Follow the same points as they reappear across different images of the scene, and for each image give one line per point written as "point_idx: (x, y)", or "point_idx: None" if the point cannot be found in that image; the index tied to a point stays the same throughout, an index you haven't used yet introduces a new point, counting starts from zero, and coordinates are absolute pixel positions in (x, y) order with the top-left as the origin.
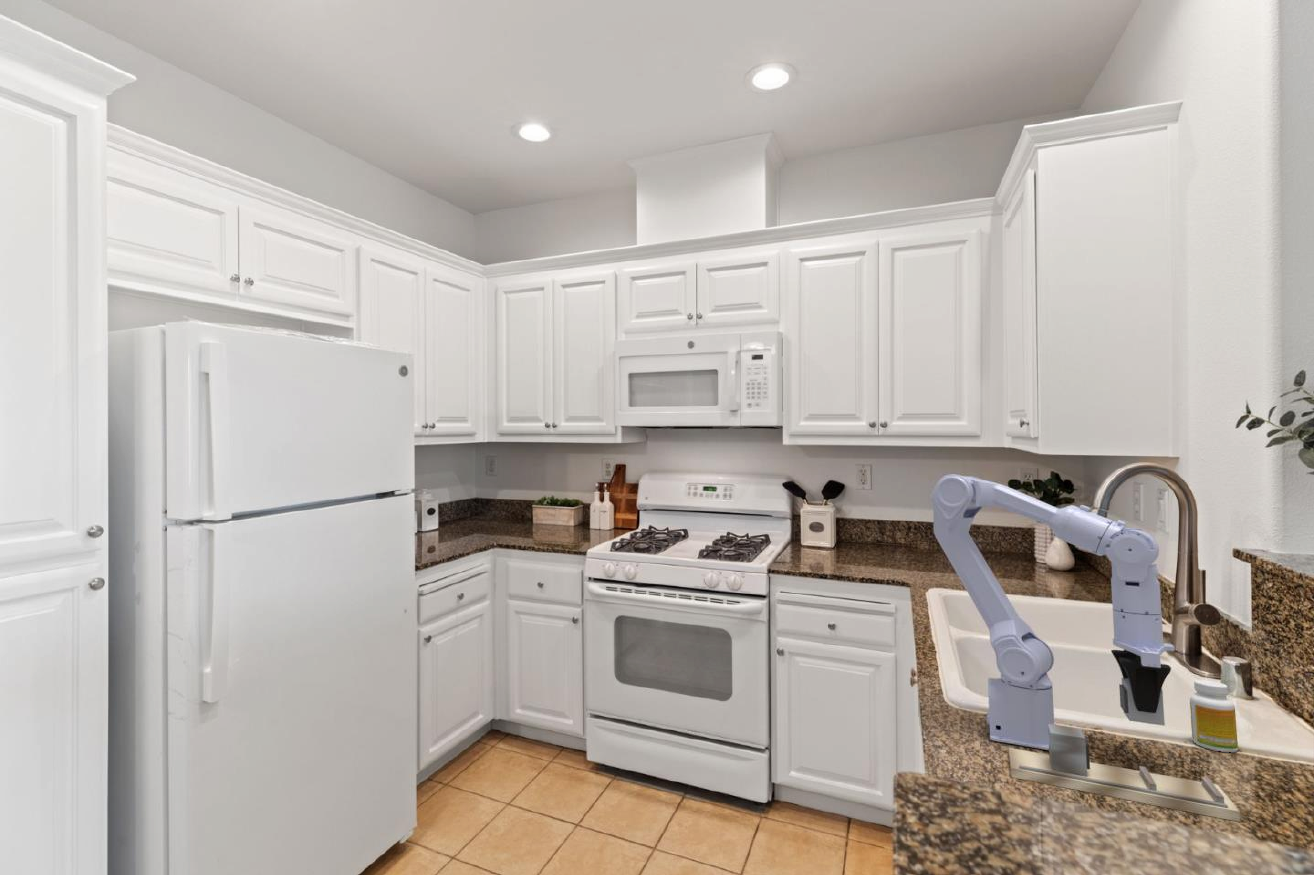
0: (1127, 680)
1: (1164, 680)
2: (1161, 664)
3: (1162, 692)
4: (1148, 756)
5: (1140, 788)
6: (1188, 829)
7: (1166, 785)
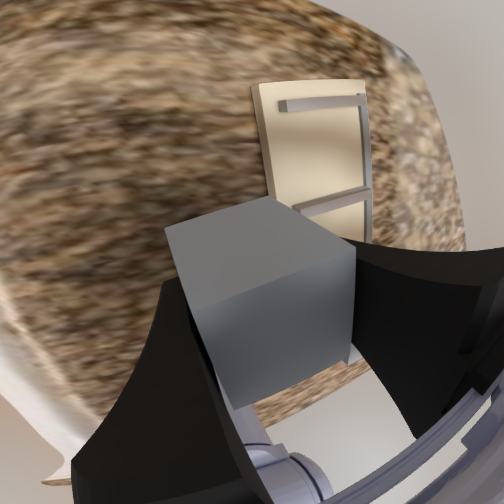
0: (273, 385)
1: (451, 252)
2: (494, 311)
3: (343, 240)
4: (95, 219)
5: (368, 207)
6: (402, 151)
7: (324, 171)
